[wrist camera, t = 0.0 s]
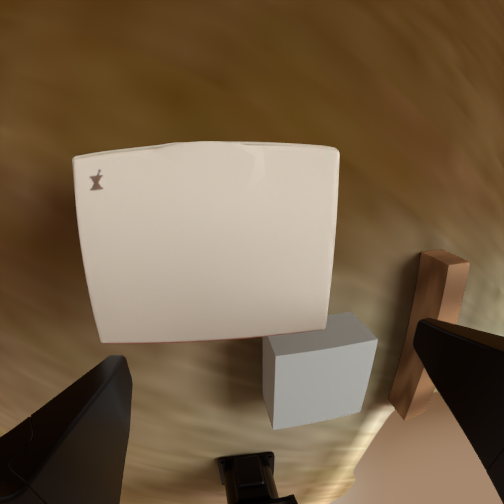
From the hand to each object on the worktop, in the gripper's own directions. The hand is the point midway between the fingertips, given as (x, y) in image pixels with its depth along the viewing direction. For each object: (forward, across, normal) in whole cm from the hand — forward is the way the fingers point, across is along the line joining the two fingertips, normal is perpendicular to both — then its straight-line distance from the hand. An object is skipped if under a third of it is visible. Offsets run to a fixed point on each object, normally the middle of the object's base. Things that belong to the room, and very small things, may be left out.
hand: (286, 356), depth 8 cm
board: (+15, -18, +11) cm, 26 cm away
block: (+15, -6, +11) cm, 20 cm away
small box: (+15, +2, -3) cm, 15 cm away
